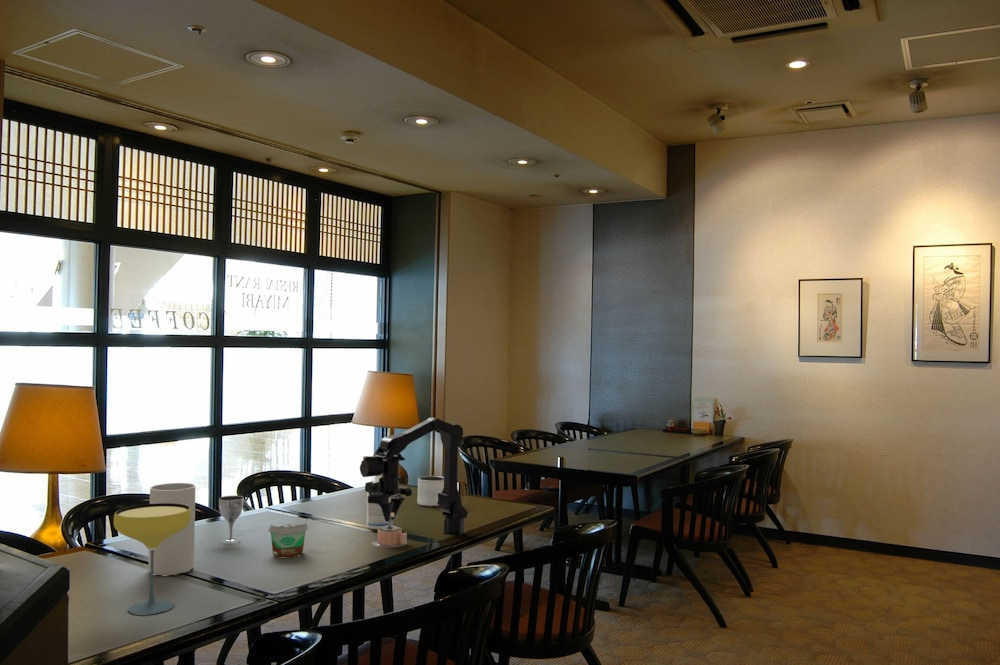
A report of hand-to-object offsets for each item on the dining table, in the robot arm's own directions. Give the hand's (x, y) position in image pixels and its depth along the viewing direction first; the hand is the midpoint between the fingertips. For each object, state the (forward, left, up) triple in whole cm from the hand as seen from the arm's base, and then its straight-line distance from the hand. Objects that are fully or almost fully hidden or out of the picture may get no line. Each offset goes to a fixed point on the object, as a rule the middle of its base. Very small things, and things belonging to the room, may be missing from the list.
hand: (389, 520), depth 266 cm
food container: (+20, +27, -8) cm, 35 cm away
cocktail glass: (+18, +82, -8) cm, 84 cm away
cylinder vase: (+40, +56, -8) cm, 69 cm away
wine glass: (+50, +22, -8) cm, 55 cm away
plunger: (0, 0, -5) cm, 5 cm away
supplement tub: (+17, -19, -8) cm, 27 cm away
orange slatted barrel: (0, 0, -8) cm, 8 cm away
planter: (+22, -66, -8) cm, 70 cm away
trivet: (0, 0, -8) cm, 8 cm away
